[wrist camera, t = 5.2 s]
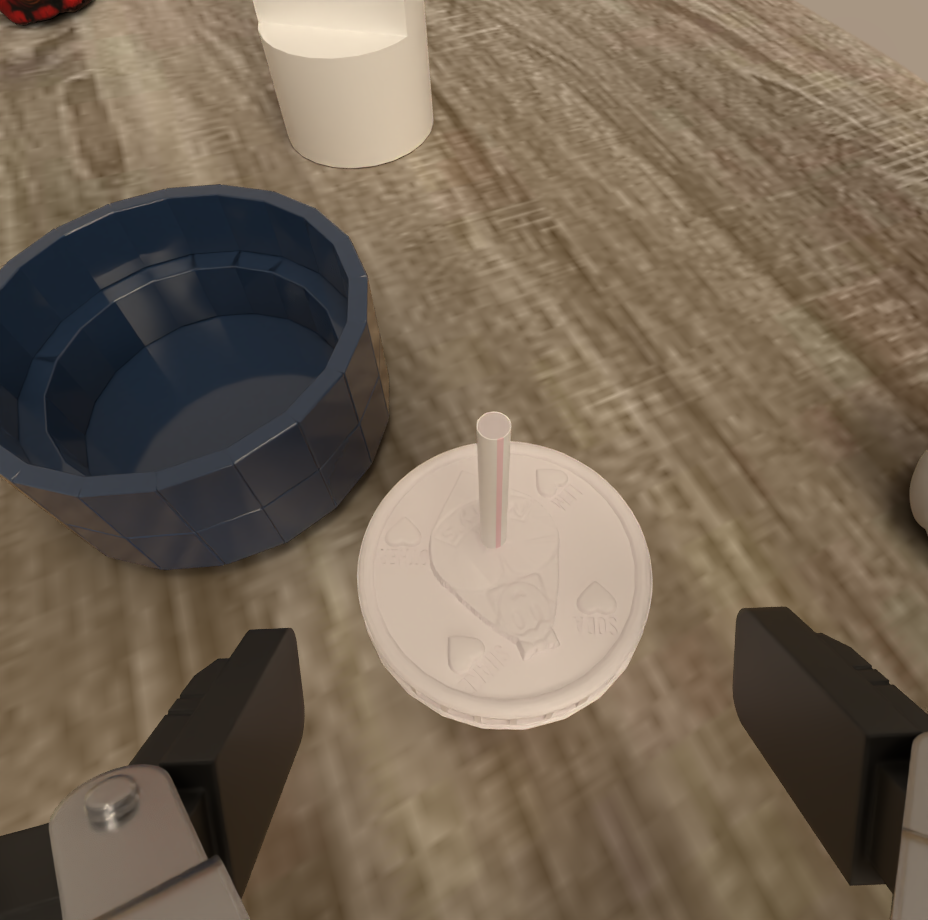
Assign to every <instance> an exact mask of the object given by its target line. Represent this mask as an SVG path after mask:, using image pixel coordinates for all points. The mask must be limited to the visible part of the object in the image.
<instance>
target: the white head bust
mask: <svg viewBox="0 0 928 920" xmlns="http://www.w3.org/2000/svg"><path fill="white" fill-rule="evenodd" d="M910 505H911V509H912V513H913V516H914V518H915V520H916V521H917V523H918V524H919V525H920V526H922V527H923V528H925V529H926V532H927V535H928V449H927V450H926V451H925V452H924V453H923V454H922V456H921V458H920V459H919V461H918V463H917V466H916V468H915V471H914V473H913V476H912V479H911V484H910Z"/></svg>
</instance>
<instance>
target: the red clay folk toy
mask: <svg viewBox="0 0 928 920" xmlns="http://www.w3.org/2000/svg"><path fill="white" fill-rule="evenodd" d="M91 1H92V0H0V11H1V12H2V13H3V14H4V15H5V16H6V17H7V18H8V19H9V20H11V21H12V22H14V23H15V24H19V25H23V26H24V25H26V24H29V23H30V22H32V23H35V22H37V21H42V20H48V19H51V18H53V17H54V16H56V15H57V14H58V13H61V12H62V13H64V12H75V11H77V10H80V9H81V8H83V7H84V6H86V5H87V4H89V3H90V2H91Z"/></svg>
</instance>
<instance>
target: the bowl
mask: <svg viewBox="0 0 928 920" xmlns="http://www.w3.org/2000/svg"><path fill="white" fill-rule="evenodd" d="M388 420H389V374H388V370H387V365H386V360H385V356H384V351H383V346H382V342H381V337H380V333H379V327H378V322H377V318H376V313H375V308H374V304H373V299H372V294H371V290H370V285H369V280H368V276H367V274H366V271H365V269H364V267H363V265H362V263H361V261H360V259H359V256H358V254H357V252H356V250H355V248H354V246H353V244H352V241H351V239H350V238H349V237H348V236H347V235H346V234H345V233H344V232H343V231H342V230H340V229H339V228H338V227H337V226H336V225H335V224H334V223H332V222H331V221H330V220H329V219H328V218H327V217H325V216H324V215H323V214H322V213H321V212H320V211H319V210H317V209H316V208H314V207H311V206H309V205H306V204H304V203H301V202H299V201H296V200H294V199H292V198H289V197H287V196H284V195H282V194H279V193H277V192H274V191H273V192H272V191H268V190H260V189H253V188H245V187H238V186H230V185H221V184H216V185H203V186H189V187H176V188H167V189H162V190H159V191H155V192H151V193H147V194H143V195H139V196H136V197H132V198H128V199H124V200H120V201H117V202H113V203H110V204H107V205H105V206H103V207H100V208H98V209H96V210H94V211H92V212H90V213H87V214H85V215H83V216H81V217H79V218H77V219H74V220H72V221H70V222H68V223H66V224H64V225H61V226H59V227H57V228H56V229H53V230H51V231H50V232H48V233H47V234H46V235H44V236H43V237H41V238H40V239H39V240H37V241H36V242H34V243H33V244H32V245H30V246H29V247H27V248H26V249H25V250H23V251H22V252H20V253H19V254H18V255H16V256H15V257H13V258H12V259H11V260H9V261H8V262H7V264H5V265H4V266H3V267H2V268H1V269H0V477H1V478H2V479H4V480H5V481H6V482H8V483H9V484H10V485H12V486H13V487H14V488H15V489H17V490H18V491H19V492H21V493H22V494H23V495H25V496H26V497H27V498H28V499H30V500H31V501H32V502H34V503H35V504H36V505H38V506H39V507H40V508H42V509H43V510H44V511H45V512H47V513H48V514H49V515H51V516H52V517H53V518H55V519H56V520H57V521H58V522H60V523H61V524H62V525H64V526H65V527H66V528H68V529H69V530H70V531H72V532H73V533H74V534H76V535H77V536H79V537H80V538H81V539H83V540H84V541H86V542H87V543H88V544H90V545H91V546H93V547H94V548H95V549H97V550H98V551H100V552H101V553H102V554H104V555H105V556H108V557H110V558H114V559H118V560H123V561H127V562H131V563H135V564H139V565H143V566H147V567H152V568H156V569H163V570H171V569H184V568H197V567H210V566H223V565H225V564H230V563H233V562H235V561H238V560H241V559H244V558H246V557H249V556H252V555H254V554H257V553H260V552H263V551H265V550H268V549H271V548H274V547H276V546H279V545H282V544H284V543H287V542H289V541H290V540H292V539H293V538H294V537H296V536H297V535H299V534H300V533H301V532H303V531H304V530H306V529H307V528H309V527H310V526H311V525H313V524H314V523H316V522H317V521H319V520H320V519H321V518H323V517H324V516H326V515H327V514H328V513H330V512H331V511H333V510H334V509H336V507H337V506H338V505H339V504H340V503H341V502H342V500H343V499H344V498H345V497H346V495H347V494H348V493H349V492H350V490H351V489H352V488H353V487H354V485H355V484H356V483H357V482H358V480H359V479H360V478H361V477H362V476H363V474H364V473H365V472H366V471H367V469H368V468H369V467H370V466H371V463H372V462H373V460H374V457H375V454H376V452H377V449H378V446H379V444H380V441H381V438H382V436H383V433H384V431H385V428H386V425H387V423H388Z"/></svg>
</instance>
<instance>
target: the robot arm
mask: <svg viewBox="0 0 928 920" xmlns="http://www.w3.org/2000/svg"><path fill="white" fill-rule="evenodd" d="M733 698H734V704H735V708H736V711H737V715H738V717H739V719H740V722H741V724H742V725H743V727H744V728H745V730H746V731H747V733H748V734H749V736H750V737H751V739H752V740H753V742H754V743H755V745H756V746H757V748H758V749H759V751H760V752H761V754H762V755H763V757H764V758H765V760H766V761H767V763H768V764H769V766H770V767H771V769H772V770H773V772H774V773H775V774H776V776H777V777H778V779H779V780H780V782H781V783H782V785H783V786H784V788H785V789H786V791H787V792H788V794H789V795H790V797H791V798H792V800H793V801H794V803H795V804H796V806H797V807H798V809H799V810H800V812H801V813H802V815H803V816H804V818H805V819H806V821H807V822H808V824H809V825H810V827H811V828H812V830H813V831H814V833H815V834H816V836H817V837H818V839H819V840H820V842H821V843H822V845H823V846H824V848H825V849H826V851H827V852H828V853H829V855H830V856H831V858H832V859H833V861H834V862H835V864H836V865H837V867H838V868H839V870H840V871H841V873H842V874H843V876H844V877H845V879H846V880H847V882H848V883H849V885H850V886H852V885H877V884H886V885H887V887H888V888H889V889H890V891H891V892H892V893H893V898H892V906H891V914H890V920H928V714H926V713H925V712H924V711H923V710H922V709H921V708H920V707H918V706H917V705H916V704H915V703H914V702H913V701H912V700H910V699H909V698H908V697H907V696H906V695H905V694H904V693H902V692H901V691H900V690H899V689H898V688H897V687H896V686H894V685H890V684H889V680H888V679H886V678H885V677H884V676H883V675H882V674H881V673H879V672H878V671H877V670H876V669H872V666H871V665H870V664H869V663H868V662H867V661H866V660H865V659H863V658H862V657H861V656H860V655H859V654H858V653H857V652H855V651H854V650H853V649H852V648H851V647H849V646H847V645H845V644H843V643H841V642H839V641H837V640H835V639H833V638H831V637H829V636H827V635H825V634H823V633H815V632H814V631H813V630H812V629H811V628H810V627H809V626H807V625H806V624H805V623H804V622H803V621H802V620H801V619H800V618H799V617H798V616H797V615H796V614H794V613H793V612H792V611H791V610H790V609H789V608H787V607H763V608H743V609H741V610H740V611H739V613H738V615H737V619H736V632H735V651H734V670H733ZM303 728H304V700H303V691H302V683H301V675H300V666H299V658H298V650H297V642H296V637H295V633H294V631H293V629H292V628H278V629H256V630H249V631H248V632H247V633H246V634H245V636H244V637H243V639H242V640H241V642H240V643H239V645H238V646H237V648H236V649H235V651H234V652H233V654H232V655H231V657H230V658H226V659H217V660H216V661H214V662H213V663H212V664H210V665H209V666H207V667H206V668H205V669H203V670H202V671H200V672H199V673H197V674H196V675H195V676H194V677H193V678H192V680H191V681H190V682H189V684H188V685H187V686H186V688H185V689H184V690H183V692H182V693H181V695H180V699H177V700H176V701H175V703H174V704H173V705H172V707H171V708H170V709H169V711H168V715H165V716H164V718H163V719H162V720H161V722H160V723H159V724H158V726H157V727H156V728H155V730H154V731H153V732H152V734H151V735H150V737H149V738H148V739H147V741H146V742H145V743H144V745H143V746H142V747H141V749H140V750H139V751H138V753H137V754H136V756H135V757H134V758H133V760H132V761H131V762H130V764H129V765H128V766H124V767H120V768H116V769H113V770H110V771H107V772H105V773H102V774H100V775H98V776H96V777H94V778H92V779H90V780H88V781H87V782H85V783H83V784H82V785H80V786H79V787H77V788H76V789H75V790H73V791H72V792H71V793H70V794H68V795H67V796H66V797H65V798H64V799H63V800H62V801H61V802H60V804H59V805H58V806H57V807H56V809H55V810H54V812H53V814H52V816H51V818H50V822H49V823H47V824H43V825H40V826H36V827H33V828H29V829H25V830H21V831H18V832H14V833H10V834H6V835H3V836H0V920H250V918H249V916H248V914H247V912H246V909H245V907H244V905H243V903H242V901H241V899H242V896H243V893H244V891H245V888H246V885H247V883H248V880H249V877H250V875H251V872H252V869H253V867H254V864H255V862H256V859H257V856H258V854H259V851H260V848H261V846H262V843H263V840H264V838H265V835H266V832H267V830H268V827H269V825H270V822H271V819H272V817H273V814H274V811H275V809H276V806H277V803H278V801H279V798H280V795H281V793H282V790H283V787H284V785H285V782H286V780H287V777H288V774H289V772H290V769H291V766H292V764H293V761H294V758H295V756H296V753H297V750H298V748H299V745H300V742H301V739H302V734H303Z"/></svg>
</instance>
